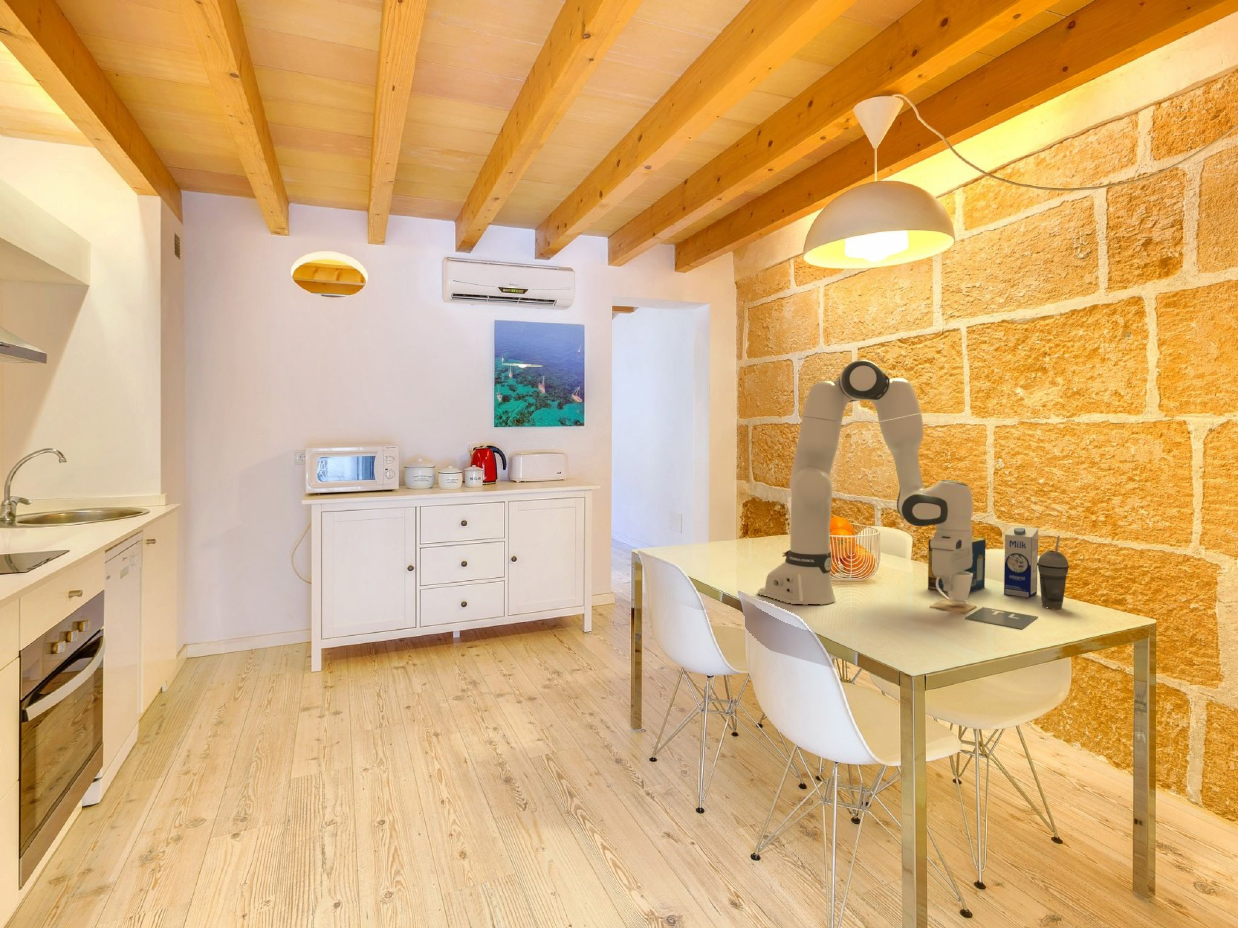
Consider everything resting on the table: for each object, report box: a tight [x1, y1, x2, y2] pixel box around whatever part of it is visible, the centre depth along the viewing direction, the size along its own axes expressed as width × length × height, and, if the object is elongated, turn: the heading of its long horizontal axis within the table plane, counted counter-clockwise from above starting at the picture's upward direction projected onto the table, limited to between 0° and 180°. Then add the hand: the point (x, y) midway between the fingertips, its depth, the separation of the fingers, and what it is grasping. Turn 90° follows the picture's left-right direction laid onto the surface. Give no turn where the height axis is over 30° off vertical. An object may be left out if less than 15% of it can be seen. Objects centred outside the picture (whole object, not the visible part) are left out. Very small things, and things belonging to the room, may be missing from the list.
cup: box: [936, 571, 973, 604], centre depth 178 cm, size 7×10×8 cm
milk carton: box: [1003, 525, 1040, 599], centre depth 190 cm, size 7×7×20 cm
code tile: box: [964, 606, 1039, 630], centre depth 168 cm, size 13×14×1 cm
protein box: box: [927, 536, 987, 594], centre depth 199 cm, size 10×15×16 cm
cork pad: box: [929, 599, 977, 615], centre depth 178 cm, size 9×9×1 cm
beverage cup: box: [1037, 535, 1070, 610], centre depth 177 cm, size 7×7×20 cm
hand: (952, 588), depth 178 cm, fingers closed on cup, 6 cm apart
